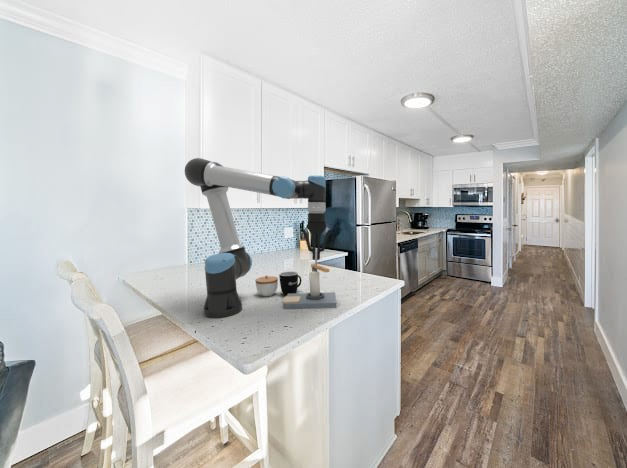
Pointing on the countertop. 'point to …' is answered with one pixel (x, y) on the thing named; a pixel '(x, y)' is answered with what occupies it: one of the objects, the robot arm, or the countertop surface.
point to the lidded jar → (266, 285)
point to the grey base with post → (309, 300)
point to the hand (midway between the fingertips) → (316, 267)
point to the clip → (320, 268)
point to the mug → (289, 282)
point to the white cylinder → (314, 284)
